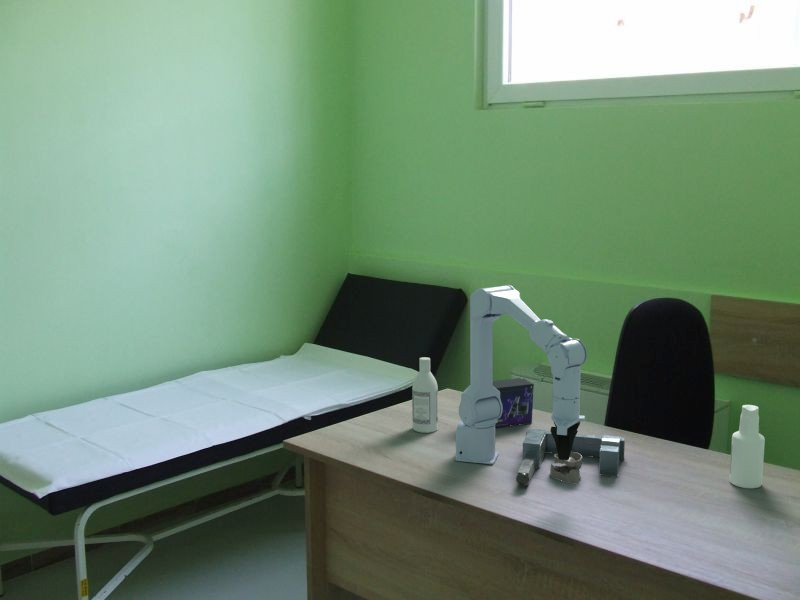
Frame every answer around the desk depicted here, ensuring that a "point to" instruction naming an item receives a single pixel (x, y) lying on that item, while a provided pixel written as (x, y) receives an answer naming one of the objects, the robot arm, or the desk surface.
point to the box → (515, 401)
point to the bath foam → (425, 399)
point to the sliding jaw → (531, 455)
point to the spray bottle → (747, 450)
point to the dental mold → (567, 468)
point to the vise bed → (595, 449)
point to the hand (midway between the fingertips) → (564, 456)
